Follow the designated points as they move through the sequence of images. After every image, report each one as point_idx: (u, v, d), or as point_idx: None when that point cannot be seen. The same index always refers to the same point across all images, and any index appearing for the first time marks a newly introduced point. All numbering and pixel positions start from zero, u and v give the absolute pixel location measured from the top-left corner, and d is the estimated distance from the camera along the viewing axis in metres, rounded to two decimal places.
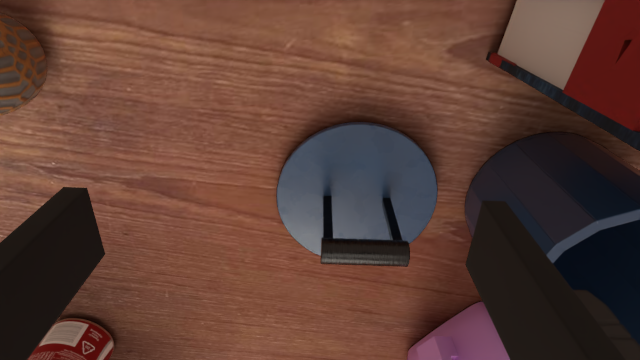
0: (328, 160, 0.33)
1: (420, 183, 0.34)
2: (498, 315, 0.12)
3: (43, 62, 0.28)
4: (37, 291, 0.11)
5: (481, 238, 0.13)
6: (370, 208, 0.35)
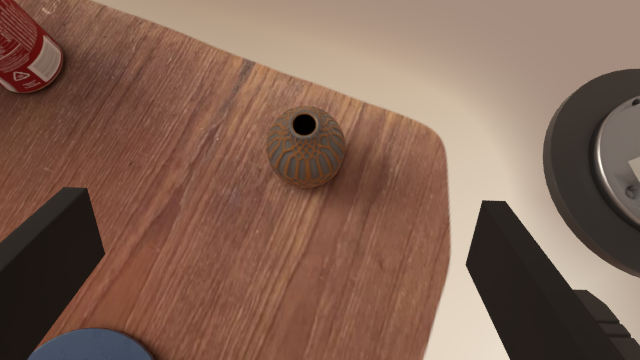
0: None
1: None
2: (498, 315, 0.12)
3: None
4: (37, 291, 0.11)
5: (481, 238, 0.13)
6: None
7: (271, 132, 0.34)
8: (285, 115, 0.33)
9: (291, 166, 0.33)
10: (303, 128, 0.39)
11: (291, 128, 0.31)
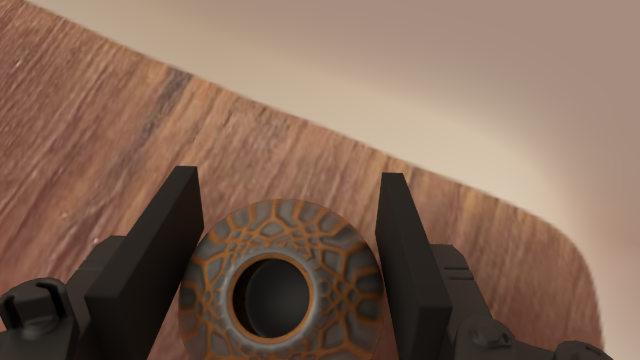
0: None
1: None
2: (385, 271, 0.13)
3: None
4: (173, 252, 0.13)
5: (381, 206, 0.15)
6: None
7: (185, 279, 0.12)
8: (223, 237, 0.12)
9: None
10: None
11: (226, 312, 0.09)
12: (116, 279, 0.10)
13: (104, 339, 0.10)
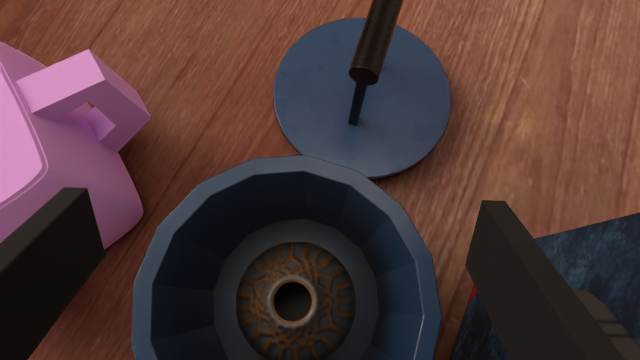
0: (416, 77, 0.32)
1: (367, 160, 0.29)
2: (497, 314, 0.12)
3: None
4: (38, 291, 0.11)
5: (481, 238, 0.13)
6: (347, 103, 0.31)
7: (242, 291, 0.22)
8: (264, 268, 0.21)
9: (271, 353, 0.21)
10: None
11: (271, 308, 0.19)
12: None
13: None
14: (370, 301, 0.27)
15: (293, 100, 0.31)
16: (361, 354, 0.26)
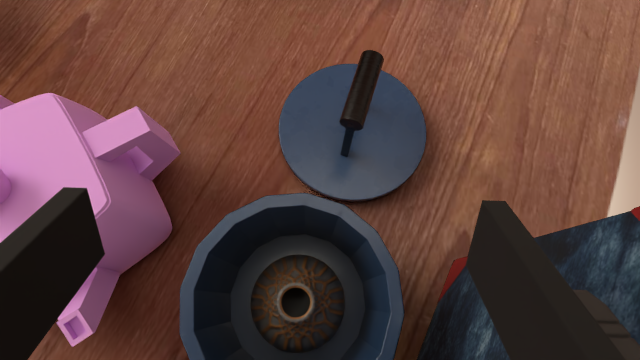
0: (397, 115, 0.38)
1: (356, 185, 0.36)
2: (498, 314, 0.12)
3: None
4: (37, 291, 0.11)
5: (481, 238, 0.13)
6: (340, 137, 0.37)
7: (256, 294, 0.28)
8: (273, 276, 0.27)
9: (279, 342, 0.27)
10: None
11: (279, 307, 0.25)
12: None
13: None
14: (357, 301, 0.34)
15: (295, 135, 0.37)
16: (350, 344, 0.33)
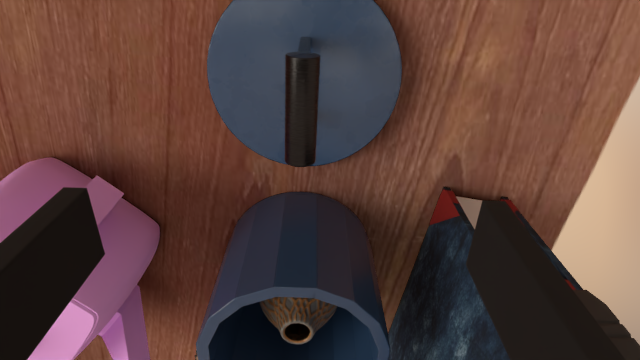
0: (359, 43, 0.27)
1: (327, 148, 0.31)
2: (498, 315, 0.12)
3: None
4: (37, 291, 0.11)
5: (481, 238, 0.13)
6: None
7: (261, 307, 0.31)
8: (271, 301, 0.30)
9: None
10: None
11: (285, 338, 0.29)
12: None
13: None
14: None
15: (237, 108, 0.29)
16: None
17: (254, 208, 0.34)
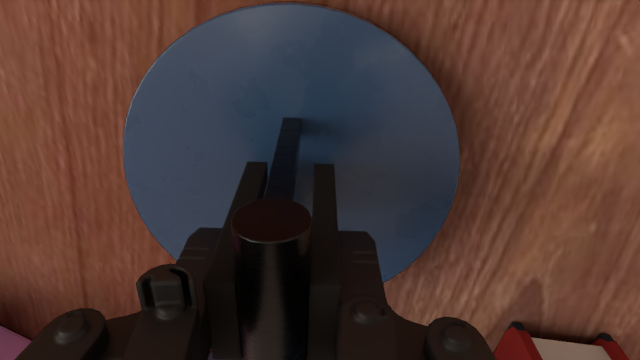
0: (387, 127, 0.15)
1: None
2: None
3: None
4: None
5: None
6: None
7: None
8: None
9: None
10: None
11: None
12: (227, 266, 0.10)
13: (214, 324, 0.10)
14: None
15: (182, 226, 0.18)
16: None
17: None
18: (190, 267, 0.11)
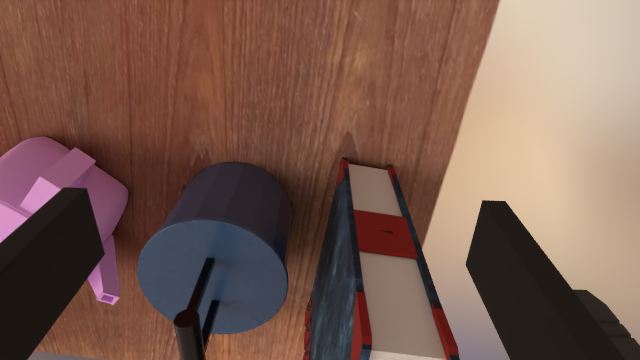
0: (251, 261, 0.36)
1: (237, 323, 0.39)
2: (498, 314, 0.12)
3: None
4: (37, 291, 0.11)
5: (481, 238, 0.13)
6: (205, 292, 0.38)
7: None
8: None
9: None
10: None
11: None
12: None
13: None
14: None
15: (164, 299, 0.38)
16: None
17: (198, 174, 0.44)
18: None
